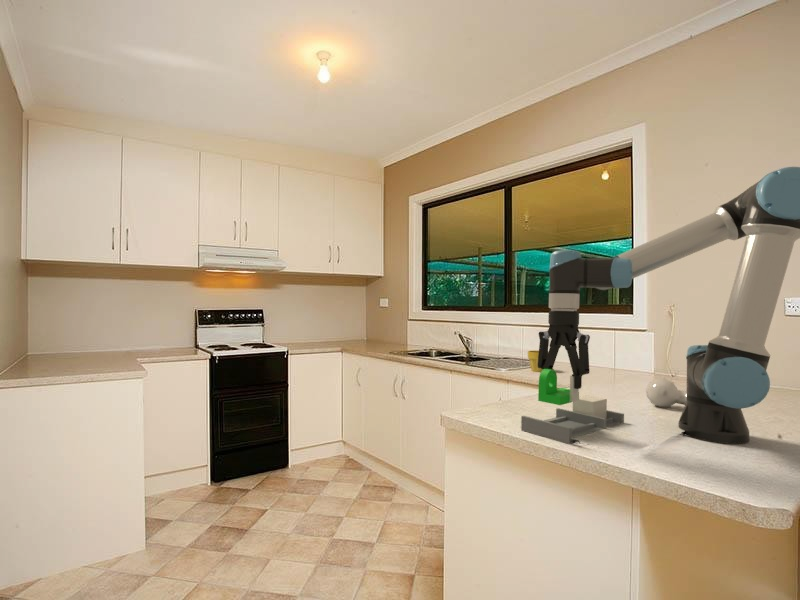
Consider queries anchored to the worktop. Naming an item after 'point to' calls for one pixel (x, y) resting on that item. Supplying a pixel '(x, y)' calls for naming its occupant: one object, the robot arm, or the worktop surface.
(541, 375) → the mechanical part
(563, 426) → the grey rail frame
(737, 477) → the worktop surface
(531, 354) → the plant pot
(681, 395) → the potion bottle
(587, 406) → the block
